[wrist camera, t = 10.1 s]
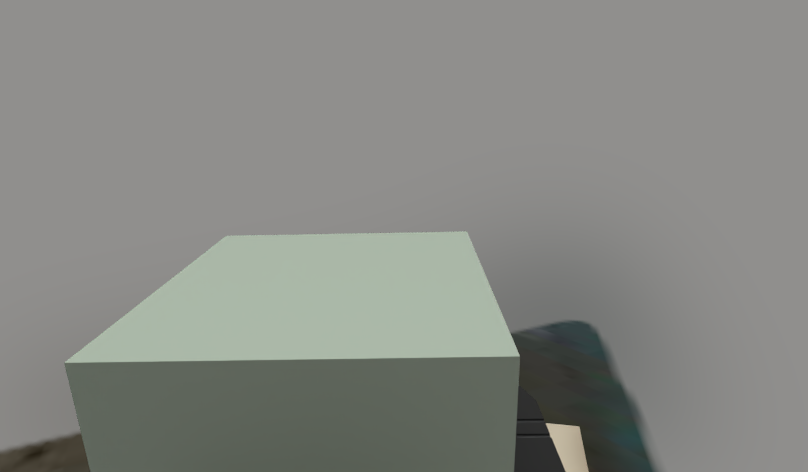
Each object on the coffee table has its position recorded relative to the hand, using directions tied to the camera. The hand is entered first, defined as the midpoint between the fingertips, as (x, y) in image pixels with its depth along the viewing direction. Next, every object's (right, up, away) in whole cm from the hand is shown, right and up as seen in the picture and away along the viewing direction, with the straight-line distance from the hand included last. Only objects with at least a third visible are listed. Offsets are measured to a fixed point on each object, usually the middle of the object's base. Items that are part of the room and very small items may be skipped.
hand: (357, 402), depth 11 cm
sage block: (0, -7, -1) cm, 7 cm away
